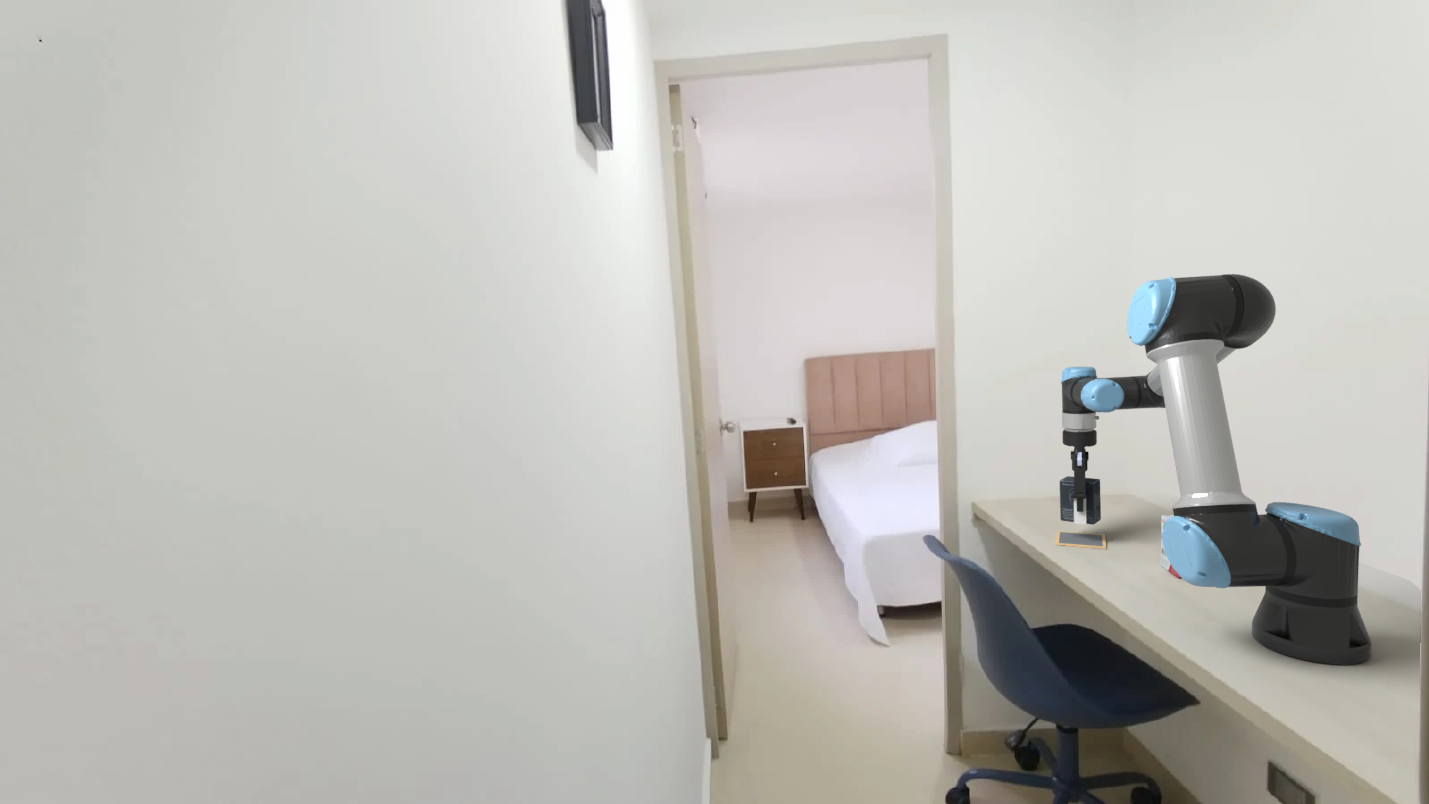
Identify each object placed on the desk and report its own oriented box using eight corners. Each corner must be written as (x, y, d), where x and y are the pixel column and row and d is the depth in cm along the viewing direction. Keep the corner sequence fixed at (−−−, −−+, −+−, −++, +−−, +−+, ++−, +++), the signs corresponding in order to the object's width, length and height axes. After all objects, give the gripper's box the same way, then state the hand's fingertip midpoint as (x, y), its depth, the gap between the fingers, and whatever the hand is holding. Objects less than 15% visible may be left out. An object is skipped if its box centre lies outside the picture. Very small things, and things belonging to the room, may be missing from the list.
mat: (1106, 549, 168) (1106, 547, 168) (1055, 545, 173) (1055, 543, 173) (1105, 535, 177) (1105, 534, 177) (1057, 532, 183) (1057, 531, 183)
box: (1101, 520, 174) (1100, 478, 173) (1093, 525, 170) (1093, 483, 169) (1067, 515, 180) (1067, 475, 178) (1059, 520, 176) (1059, 479, 174)
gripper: (1097, 436, 162) (1097, 532, 164) (1096, 423, 179) (1096, 510, 182) (1061, 435, 165) (1062, 529, 168) (1063, 423, 183) (1064, 508, 185)
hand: (1080, 519), depth 175 cm, fingers closed on box, 7 cm apart
